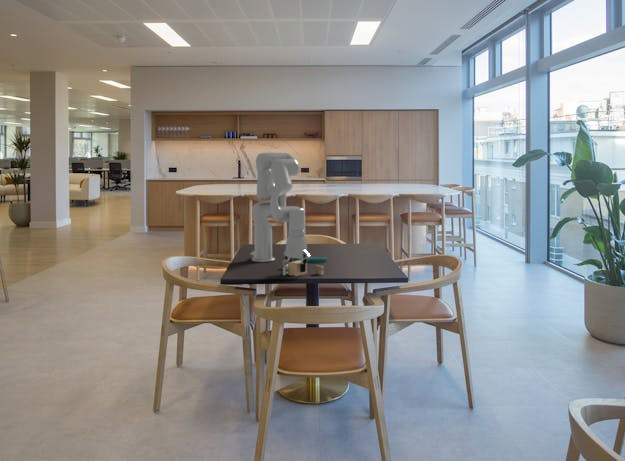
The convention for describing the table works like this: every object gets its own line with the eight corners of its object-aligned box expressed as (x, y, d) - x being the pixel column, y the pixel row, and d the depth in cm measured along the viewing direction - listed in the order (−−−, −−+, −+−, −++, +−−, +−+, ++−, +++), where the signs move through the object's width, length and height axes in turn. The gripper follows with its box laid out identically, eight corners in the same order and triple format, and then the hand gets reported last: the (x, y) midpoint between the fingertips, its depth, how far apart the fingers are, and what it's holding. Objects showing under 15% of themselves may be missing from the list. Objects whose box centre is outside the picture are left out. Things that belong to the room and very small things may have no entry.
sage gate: (289, 269, 290) (289, 262, 290) (293, 269, 290) (293, 262, 289) (282, 275, 275) (282, 267, 275) (287, 275, 275) (287, 268, 274)
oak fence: (282, 268, 293) (282, 260, 292) (285, 268, 294) (285, 259, 294) (321, 275, 277) (321, 266, 276) (324, 274, 279) (324, 265, 278)
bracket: (292, 262, 311) (292, 248, 310) (294, 260, 318) (295, 246, 317) (326, 263, 309) (326, 248, 308) (327, 261, 315) (327, 246, 314)
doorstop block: (288, 274, 278) (288, 262, 277) (299, 272, 284) (299, 260, 283) (296, 276, 275) (296, 263, 274) (307, 273, 281) (307, 261, 280)
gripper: (277, 233, 278) (278, 269, 280) (305, 236, 267) (305, 274, 269) (288, 231, 284) (288, 267, 286) (316, 234, 273) (315, 272, 275)
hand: (296, 270), depth 278 cm, fingers open, 7 cm apart
